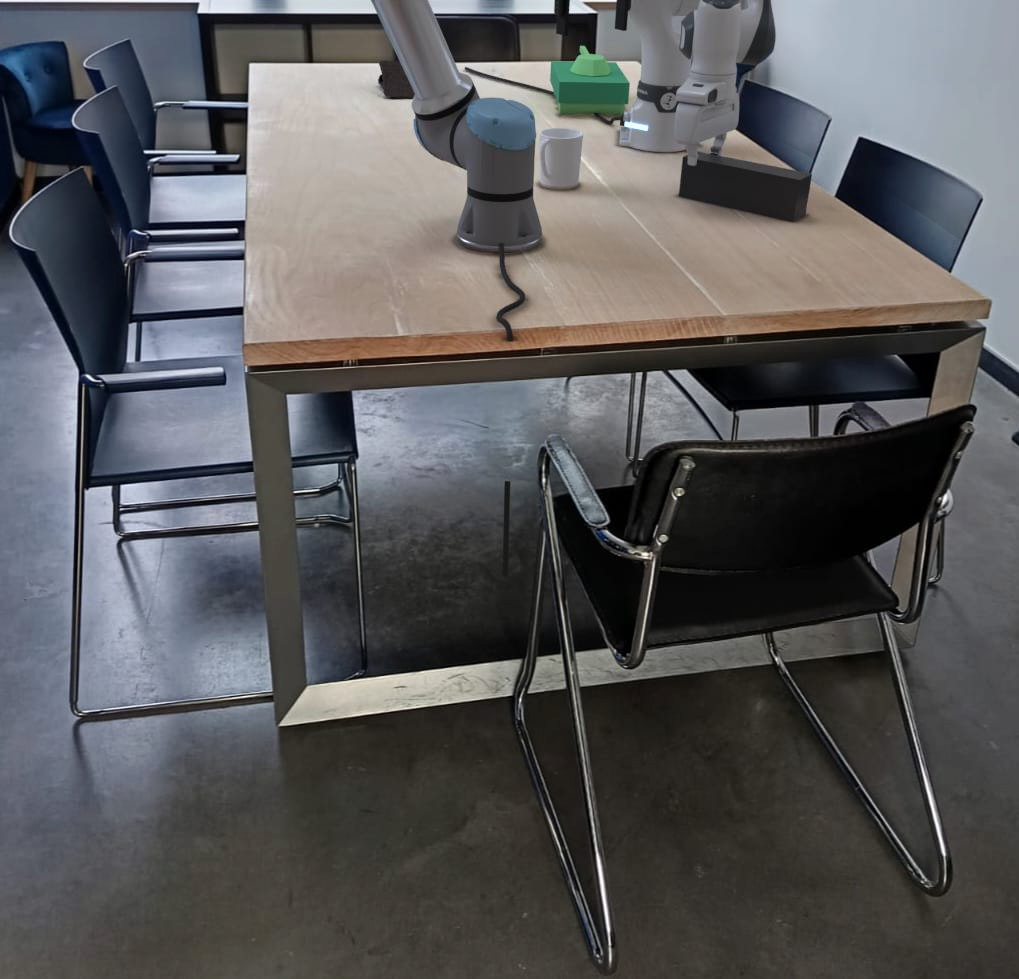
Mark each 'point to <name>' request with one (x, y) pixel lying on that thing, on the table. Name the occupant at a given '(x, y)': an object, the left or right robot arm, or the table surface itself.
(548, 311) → the table surface
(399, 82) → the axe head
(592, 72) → the toy tank
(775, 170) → the bar
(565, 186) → the mug
